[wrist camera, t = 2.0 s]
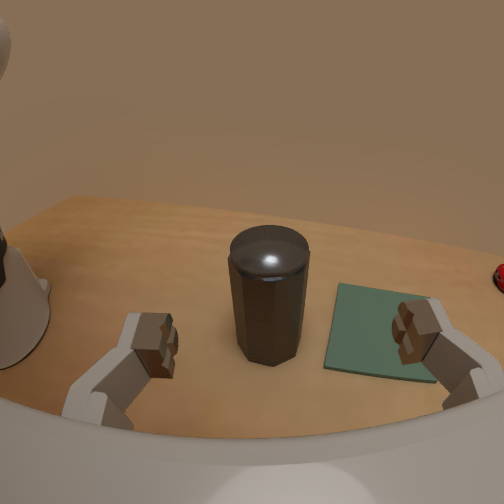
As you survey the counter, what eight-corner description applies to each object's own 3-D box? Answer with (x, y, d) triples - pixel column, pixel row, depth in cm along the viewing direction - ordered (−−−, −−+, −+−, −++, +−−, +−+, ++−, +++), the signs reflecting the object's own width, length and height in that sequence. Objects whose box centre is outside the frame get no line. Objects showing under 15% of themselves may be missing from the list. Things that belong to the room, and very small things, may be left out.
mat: (323, 368, 28) (324, 365, 28) (338, 285, 37) (339, 282, 37) (435, 383, 25) (437, 380, 25) (428, 300, 34) (430, 297, 34)
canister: (231, 356, 30) (217, 264, 22) (250, 313, 34) (244, 220, 27) (291, 370, 28) (300, 279, 21) (304, 324, 33) (314, 230, 25)
